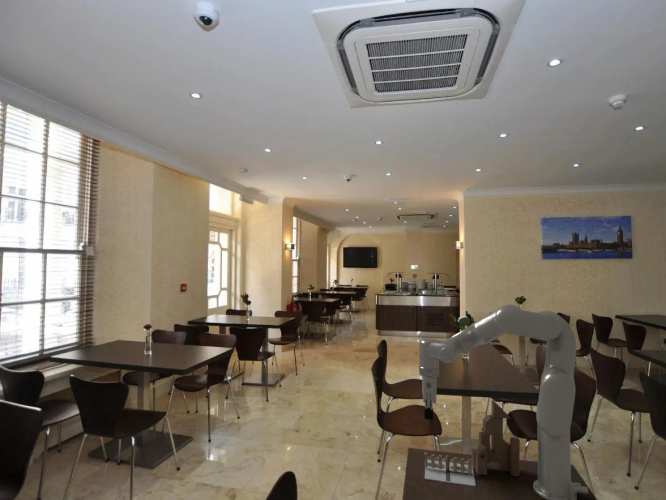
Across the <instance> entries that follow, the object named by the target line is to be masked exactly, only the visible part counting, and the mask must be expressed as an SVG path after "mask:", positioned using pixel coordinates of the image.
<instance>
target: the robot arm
mask: <svg viewBox="0 0 666 500" xmlns="http://www.w3.org/2000/svg"><path fill="white" fill-rule="evenodd" d="M508 333H509V334H511V335H512V334H513V335H517V336H520V337H521V336H522V337H526V338H530V339H534V340H535V339H536V340H539V341H545V342H546V350H545V359H544V366H543V370H542V373H541V377H540V386H539V394H538V402H537V405H536V414H535V415H536V416H535V418H536V422H537V424H536V425H537V479H536V480H534V481H533V484H532V485H533V486H532V488H533V490H534V492H535V493H536V494H537V495H538V496H539V497H541V498H543V499H545V500H577V498H578V497H577V494H578V493H581V494H587V495H588V494H589V488H588V487H587V486H582V484H581V483H580V482H573V480H572V477H571V476H572V475H571V473H572V472H571V469H572V467H571V465H572V464H571V426H572V419H573V412H574V406H575V399H576V383H575V379H574V377H575V374H574V373H575V367H576V366H575V365H576V357H577V356H576V355H577V341H576V336H575V334H574V331H573V329H572V328H571V326H570V325H569V323H568V322H567V321H566V319H564V318H563V317H562V316H561V315H559V314H557V313H555V312H553V311H550V310H542V311H539V312H534V311H530V310H523V309H520V308H519V307H518V306H516V305H514V304H506V305H502V306H501V307H499V308H497V309H495V310H494V311H491V312H490V313H489V314H486V315H484V316H483V317H481V318H480V319H478V320H476V321H475V322H473V323H471V324H470V325H469V326H467V327H466V328H464V329H463V330H461V331H459V332H458V333H456V334H454V335H452V336H451V337H449V338H447V339H446V340H444V341H441V342H439V341H438V340H437V339H435V338H422V339H420V340H419V343H418V344H419V345H418V352H419V353H418V354H419V355H418V375H419V376H420V377H421V380H422V381H421V383H422V385H421V387H422V388H421V389H422V390H421V392H422V401H423V403H424V415H423V416H424V420H429V421H433V420H434V407H433V404H434V405H436V404H437V378H438V377H439V376H440V362H442V363H452V362H455V361H456V360H457V359H458V358H459V357H460V356H461V355H463V354H464V353H466V352H468V351H470V350H471V349H474V348H475V347H478V346H481V345H487V344H489V343H491V342H492V341H494V340H496V339H498V338H499V337H502V336H504V335H506V334H508Z"/></svg>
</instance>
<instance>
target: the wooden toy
mask: <svg viewBox="0 0 666 500" xmlns="http://www.w3.org/2000/svg"><path fill="white" fill-rule="evenodd" d="M490 413H491V414H487V415H485V417H484V418H483V419H482V431H478V446H477V448H473V447H472V448H471V458H472V467H473V471H474V470H475V472H476V474H477V475H479V476H481V475H482V476H483V475H484V476H487V475H488V464H489V463H496V464H497V465H498V467H499V469H500V470H501V471H503V472H509V474H510V475H511V476H513V477H519V476H520V468H521V467H520V466H521V465H520V464H521V461H520V460H521V459H520V458H521V457H520V453H521V451H520V449H521V443H520V442H521V441H520V440H521V439H520V438H518V437H516V436H511V437H510V438H509V441H506V440H505V439H504V419H511V417H510V415H508V414H507V412H505V411H504V409H503V408H501V406H500V405H499V404H497V402H496V401H495V400H494V399H492V400H491V412H490Z"/></svg>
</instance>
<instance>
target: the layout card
mask: <svg viewBox="0 0 666 500" xmlns="http://www.w3.org/2000/svg"><path fill="white" fill-rule="evenodd" d="M427 461H428V463H431V460H427ZM435 464H439V461H435ZM442 464H443V465H445V469H444V468H442V469H439V468H436V467H435V468H431V467H429V466H427V467H424V480H429V481H435V482H442V483H449V484H454V485H455V484H456V485H463V486H464V485H465V486H469V487H477V486H476V485H477V484H476V479H475V474H474V468H473V467H472V475H468V472H466V471H465V474H461V471H459V470H457V473H454V472H453V470H451V466H453V463H451V461H450V471H446V461H445V462H442ZM457 466H458V467H461V464H457ZM464 467H466V468H468V465H464Z"/></svg>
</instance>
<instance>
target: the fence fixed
mask: <svg viewBox="0 0 666 500" xmlns="http://www.w3.org/2000/svg"><path fill="white" fill-rule="evenodd" d="M450 462H451V463H453V466H451V470H453V472H454V473H457V470H459V471H461V474H465V471H466V472H468V475H472V457H468V458H467V460H465V458H464V457H460V459H458V457H456V456H453V458H450ZM457 464H461V467H458V466H457ZM464 465H468V468H466V467H464Z"/></svg>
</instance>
